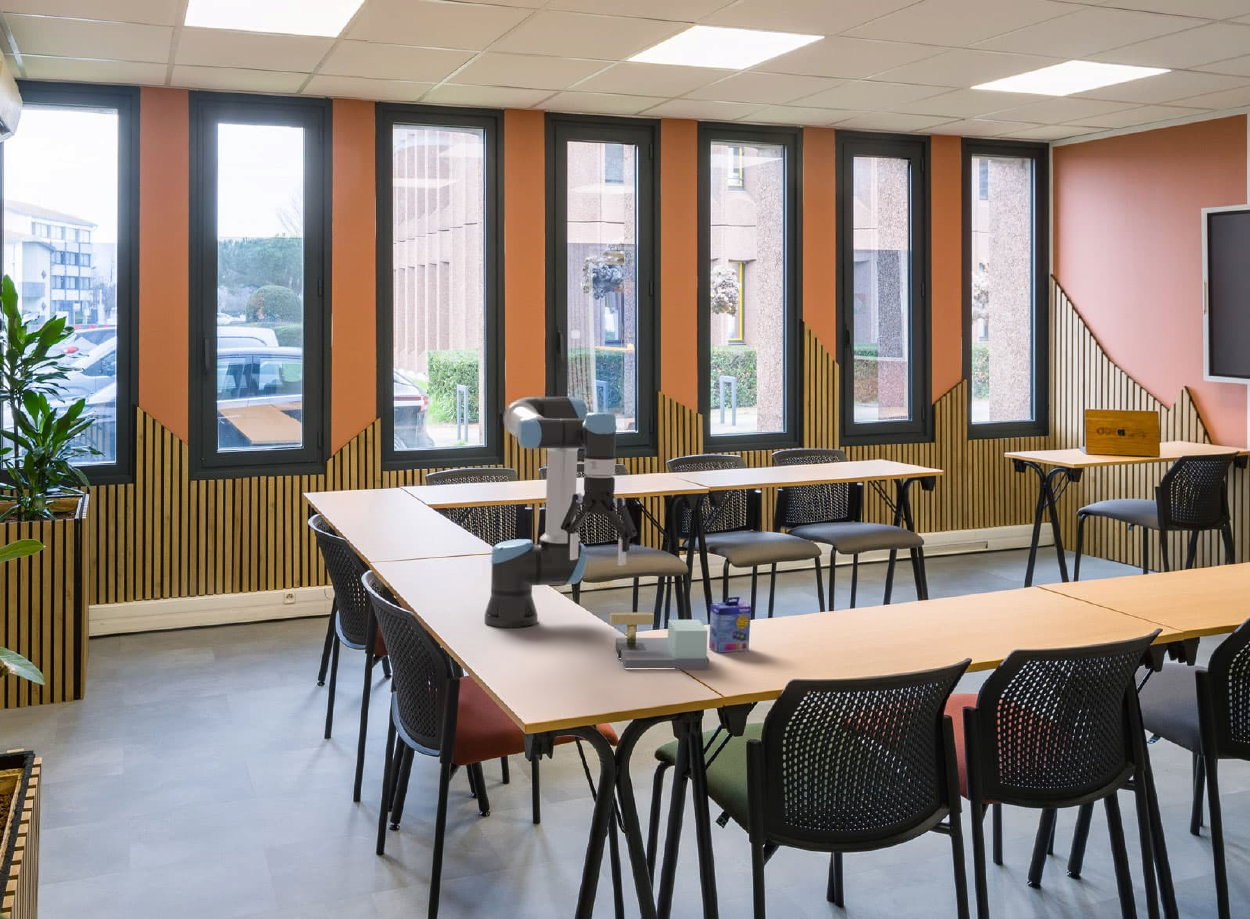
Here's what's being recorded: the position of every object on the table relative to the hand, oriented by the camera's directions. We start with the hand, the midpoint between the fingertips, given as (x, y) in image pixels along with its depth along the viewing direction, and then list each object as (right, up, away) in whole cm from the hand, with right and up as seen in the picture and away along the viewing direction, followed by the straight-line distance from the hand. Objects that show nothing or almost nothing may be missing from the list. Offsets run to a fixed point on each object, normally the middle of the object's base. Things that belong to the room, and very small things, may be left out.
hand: (597, 562), depth 286 cm
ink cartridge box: (+34, -25, +23) cm, 49 cm away
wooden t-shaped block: (+8, -23, +14) cm, 28 cm away
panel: (+16, -26, +13) cm, 33 cm away
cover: (+22, -24, +10) cm, 34 cm away
